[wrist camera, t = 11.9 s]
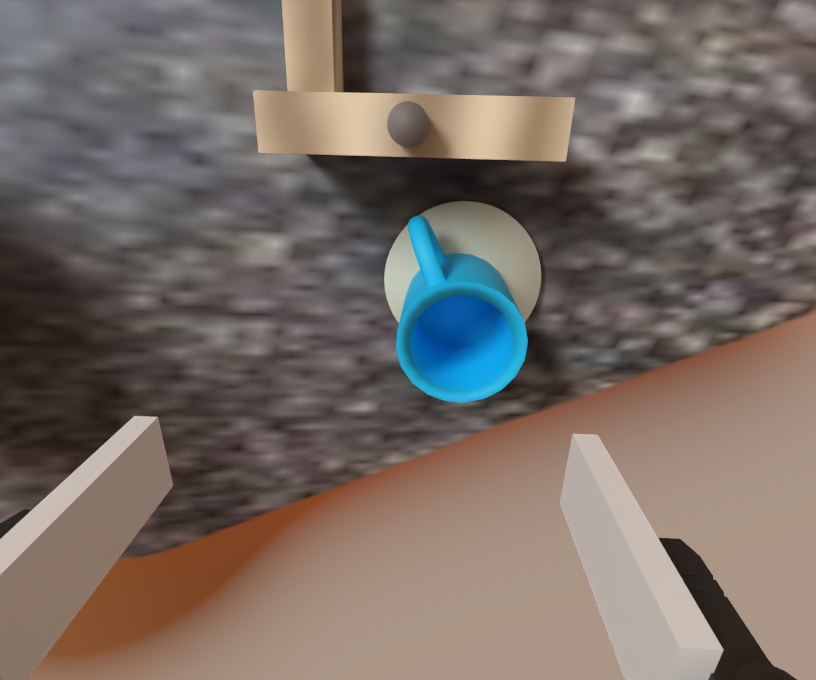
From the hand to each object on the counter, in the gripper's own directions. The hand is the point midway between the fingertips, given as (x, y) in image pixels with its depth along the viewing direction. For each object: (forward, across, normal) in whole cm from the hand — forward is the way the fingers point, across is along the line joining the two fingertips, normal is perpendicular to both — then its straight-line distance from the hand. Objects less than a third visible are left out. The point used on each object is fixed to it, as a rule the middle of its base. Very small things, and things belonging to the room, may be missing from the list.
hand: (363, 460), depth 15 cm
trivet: (+23, +5, 0) cm, 24 cm away
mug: (+23, +4, 0) cm, 23 cm away
